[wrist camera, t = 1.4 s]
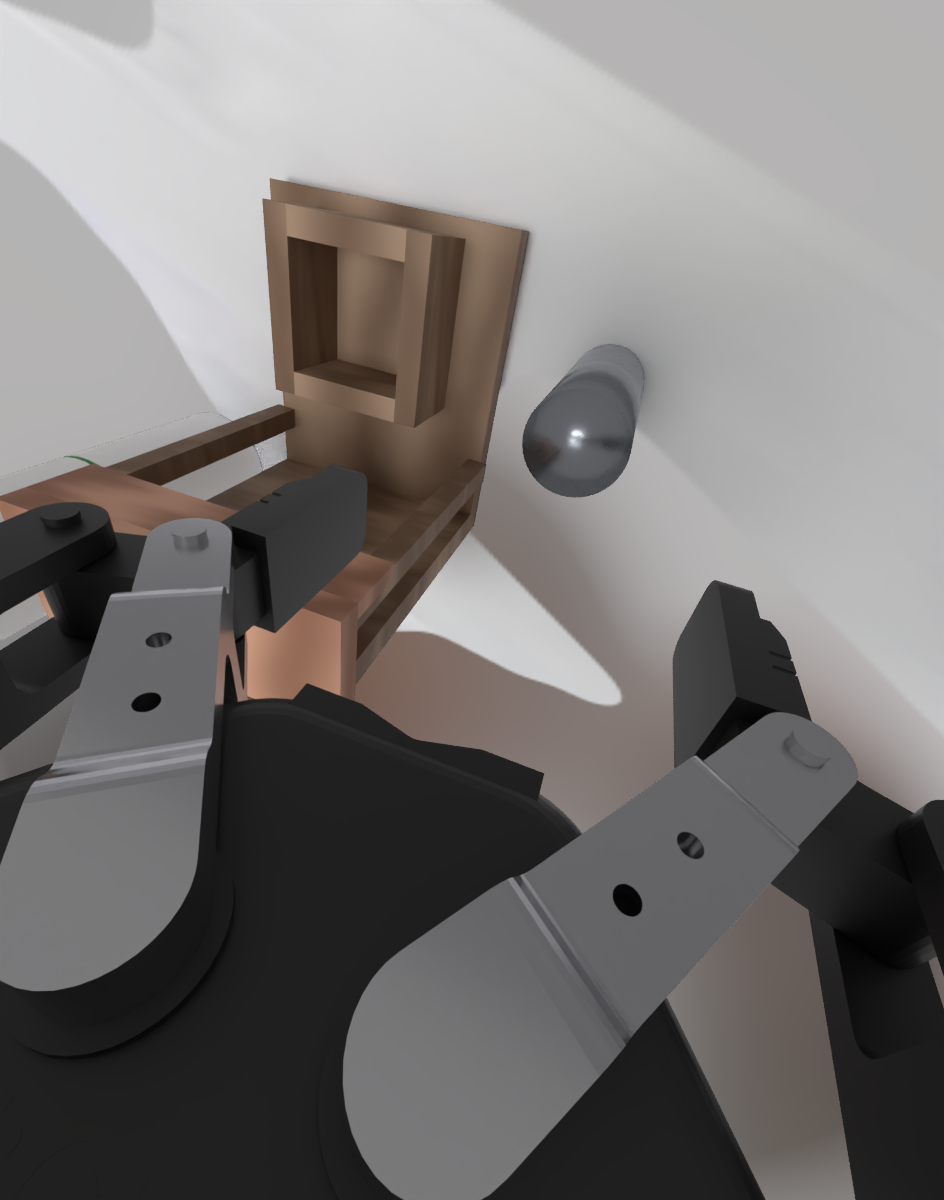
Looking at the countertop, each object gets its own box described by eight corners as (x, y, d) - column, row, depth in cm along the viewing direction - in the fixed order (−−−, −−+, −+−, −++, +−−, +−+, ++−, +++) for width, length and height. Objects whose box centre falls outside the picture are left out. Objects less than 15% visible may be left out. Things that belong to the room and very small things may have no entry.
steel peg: (655, 353, 26) (648, 404, 17) (629, 428, 29) (610, 509, 19) (582, 336, 27) (536, 375, 18) (562, 411, 29) (512, 481, 20)
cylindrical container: (212, 506, 42) (-183, 717, 23) (168, 421, 39) (-343, 582, 19) (276, 496, 40) (-110, 727, 20) (235, 404, 36) (-282, 571, 16)
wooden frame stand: (538, 233, 25) (343, 188, 10) (479, 533, 36) (340, 732, 20) (278, 180, 27) (-197, 78, 12) (294, 475, 38) (48, 616, 23)
